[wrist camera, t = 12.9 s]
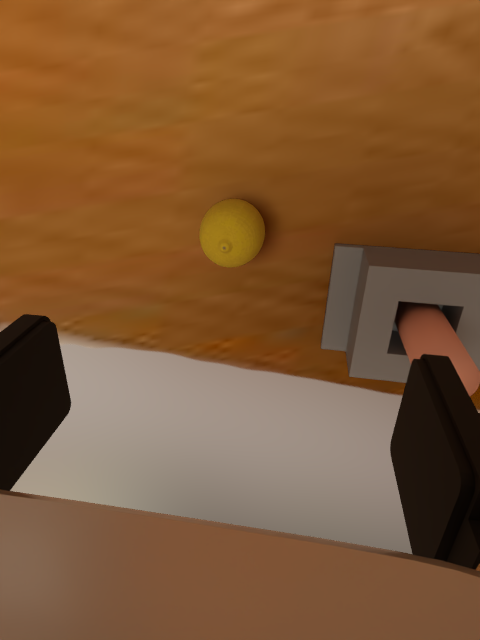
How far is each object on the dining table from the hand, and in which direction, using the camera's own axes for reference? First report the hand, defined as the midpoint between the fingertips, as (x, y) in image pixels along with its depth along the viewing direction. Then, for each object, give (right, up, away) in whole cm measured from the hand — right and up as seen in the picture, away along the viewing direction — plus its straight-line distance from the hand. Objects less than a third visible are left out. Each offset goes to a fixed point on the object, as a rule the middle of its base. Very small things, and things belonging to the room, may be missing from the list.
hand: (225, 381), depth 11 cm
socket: (+17, +3, +30) cm, 35 cm away
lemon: (0, +11, +29) cm, 31 cm away
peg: (+17, +3, +29) cm, 34 cm away
